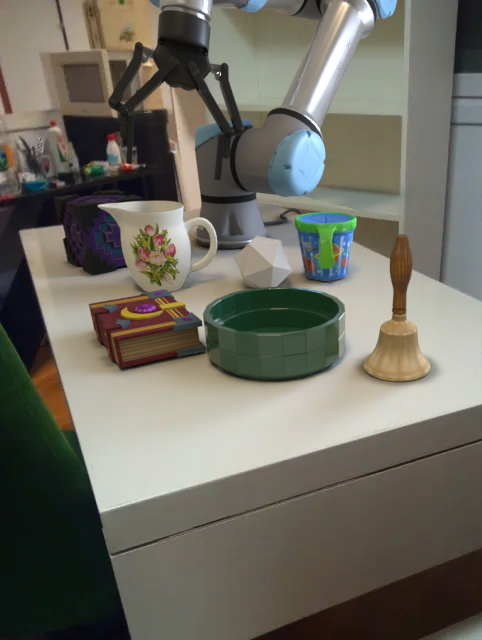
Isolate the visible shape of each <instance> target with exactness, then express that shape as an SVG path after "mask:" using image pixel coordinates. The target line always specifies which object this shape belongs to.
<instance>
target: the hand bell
mask: <svg viewBox="0 0 482 640" xmlns="http://www.w3.org/2000/svg"><path fill="white" fill-rule="evenodd" d="M413 258H414V257H413V251H412V247H411V244H410V240H409V235H408V234H406V233H399V234H397V235H396V236H395V241H394V244H393V247H392V249H391V252H390V257H389V277H390V282H391V285H392V308H391V312H392V313H391V318H390V319H389V320H386V321H384V322H383V323H381V324H380V326H379V331H378V336H377V337H378V338H377V341H376V344H375V348H373V350H372V352H371V353H370V354H368V355H367V357H366V358H365V359H364V361H363V362H362V367H363V371H364V372H365V373H366V374H368V375H369V376H371V377H372V378H377V379H378V380H382V381H388V382H401V383H402V382H410V381H417V380H420V379H422V378H424V377H425V376H427V375H428V374H429V373H430V372H431V368H432V366H431V363H430V361H429V360H428V358H427V357H426V356H425V355H424V354H423V352H422V350H421V347H420V342H419V332H418V326H417V324H416V323H414V322H412V321H411V320H408V317H407V294H408V288H409V284H410V281H411V279H412V274H413V265H414V259H413Z"/></svg>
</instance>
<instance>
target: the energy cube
mask: <svg viewBox="0 0 482 640" xmlns="http://www.w3.org/2000/svg"><path fill="white" fill-rule="evenodd" d="M52 199H53V203H54V207H55V212H56V216H57V221H58V222H59V223H60V224H62V227H63V231H64V236H65V237H63V238H62V242H63V247H64V252H65V256H66V259H67V263H69V264H71V265H73V266H75V267H82V270H83V271H84V272H85V273H88V274H89V275H91V276H97V275H102V274H106V273H111V272H115V271H116V270H117V268H118V267H124V266H127V265H126V262H125V259H124V255H123V251H122V245H121V230H120V227H119V225H118V224H117V222H116V220H115V219H114V218H113V217H112V216H111V214H109V213H108V212H106V211H105V210H102V209H100V208H99V207H98V205H100V204H108V203H122V202H133V201H144V197H143V196H140V195H135V194H128V195H126V194H125V191H122V190H119V189H107V190H99V191H93V192H92V195H84V196H80V195H79V194H76V193H73V194H66V195H60V196H59V195H58V196H53V198H52Z"/></svg>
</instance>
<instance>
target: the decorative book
mask: <svg viewBox="0 0 482 640" xmlns="http://www.w3.org/2000/svg"><path fill="white" fill-rule="evenodd" d="M88 308H89V311H90V312H89V313H90V316H91V321H92V326H93V330H94V332H95V335H96V339H97V341H98V342H99V344H100V345H104V346H105V348H106V349H107V354H108V357H109V359H110V360H111V362H112V363H113V362H116V364H117V365H118V367H119V368H120V369H122V368H127V367H131V366H136V365H140V364H146V363H149V362H154V361H158V360H162V359H167V358H171V357H176V356H177V358H178V357H183V356H188V355H193V354H197V353H203V352H207V349H206V345H204V343H203V342H202V341H201V340H200V333H199V327H204V324H203V320H202V319H201V318H200V317H198V316H197V314H195V313H194V312H193V311H191V312H190V311H189V310H188V309H187V307H186V303H184V302H183V301H182V300H180V301H177V300H176V299H175V296H174V295H173V294H172V293H171V292H168V291H167V290H166V289H163V290H158V291H152V292H142V293H139V294H138V295H133V296H127V297H121V298H115V299H109V300H103V301H97V302H91V303H88Z"/></svg>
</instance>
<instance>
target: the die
mask: <svg viewBox="0 0 482 640" xmlns="http://www.w3.org/2000/svg"><path fill="white" fill-rule="evenodd" d="M234 260H235V263H236V265H237V267H238V270H239V272H240V274H241V276H242V279H243V281H244V283H245V285H246V287H247V288H249V289H255V288H264V287H279V286H280V285H281V284H282V282H283V281H284V280H285V279H287V277H288V276H290V274H291V273H292V272H294V270H293V268H292V265H291V263H290V259H289V258H288V255H287V253H286V250H285V247H284V245H283V243H282V240H281V239H276V238H272V237H271V238H270V237H267V238H266V237H260V236H256V237H255V238H254V239H253V240H252V241H251V242H250V243H249V244H248V245H247V246H246V247H244V248H242V250H241V251H240V252H239V251H238V253H237V254H236V255H235V256H234Z"/></svg>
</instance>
